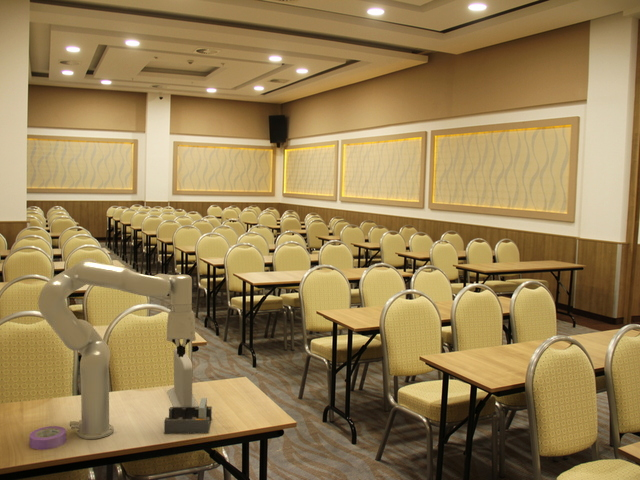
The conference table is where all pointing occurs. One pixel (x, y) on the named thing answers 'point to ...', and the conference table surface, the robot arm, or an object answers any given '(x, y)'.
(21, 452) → the conference table surface
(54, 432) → the masking tape
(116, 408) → the conference table surface
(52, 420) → the conference table surface
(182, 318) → the robot arm
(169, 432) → the rack
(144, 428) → the conference table surface
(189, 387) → the wireless router
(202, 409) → the panel
